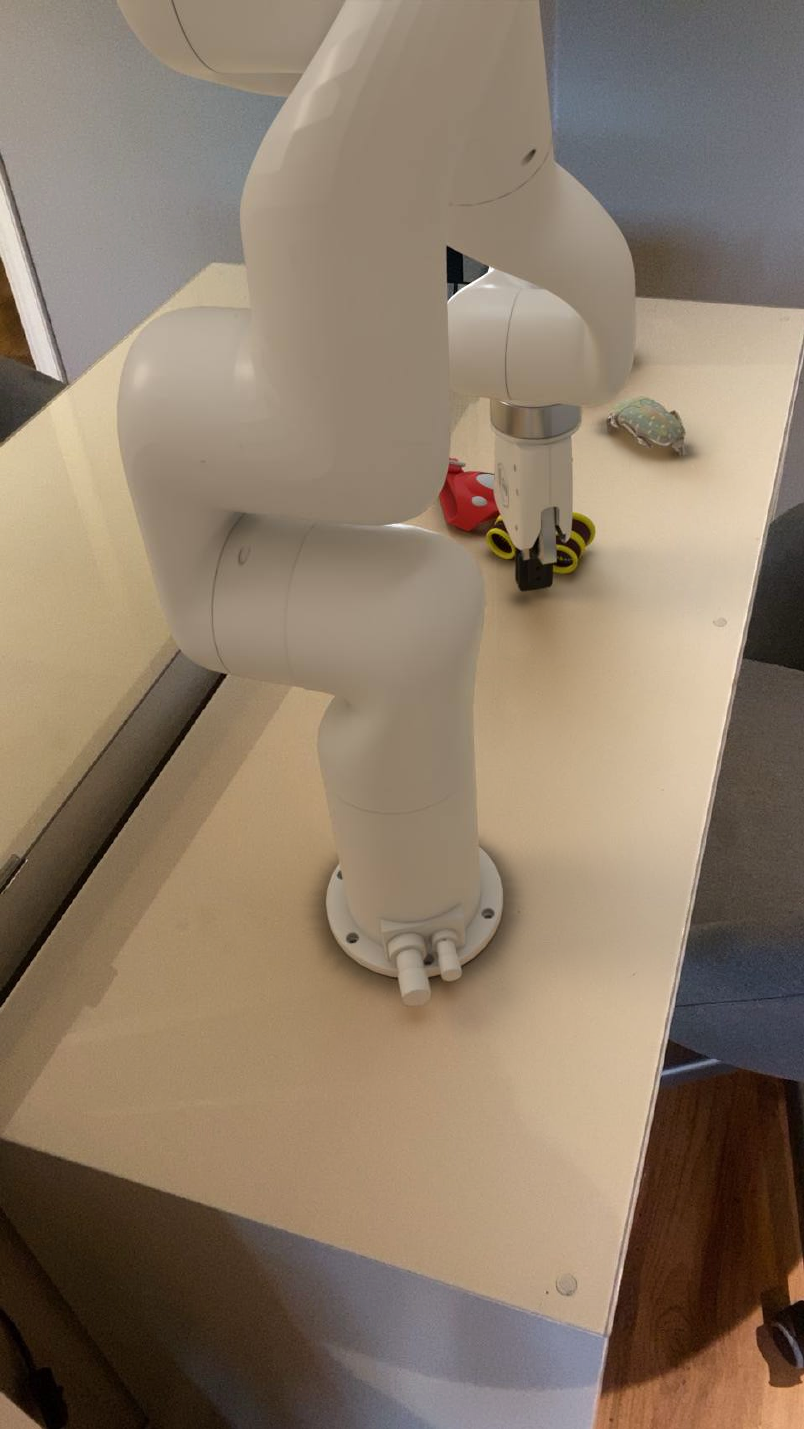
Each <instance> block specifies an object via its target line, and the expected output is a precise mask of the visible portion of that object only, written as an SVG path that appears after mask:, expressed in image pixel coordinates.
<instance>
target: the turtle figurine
mask: <svg viewBox="0 0 804 1429" xmlns="http://www.w3.org/2000/svg"><path fill="white" fill-rule="evenodd" d="M622 426H623V427H624V428H626V429H627V431H628V432H629V433H631V434H632V436H633V438H636V440H637V442H638V444H639V445H643V446H644V447H646V448H647V449H651V450H653V445H652V443H654V444H656V445H659V446H662V447H663V446H664V447H668V446H670V445H671V448H673V449H674V450H675V451H676V452H678V455H679V456H686V455H687V453H686V448H685V436H686V435H687V432H686V429H685V427H684V425H683V421H682V418H681V416H680V414H679V412H678V411H677V410H675V409H673V410H671V411H669V410H667V409H666V407H665V406H664V405H662V404H661V403H660V402H657V401H656V400H655V399H653V398H652V399H650V398H649V397H647V396H639V397H634V398H629V399H626V400H623V401H620V402H618V403H617V404H615V406H614V407H613V408H612V409H611V411H610V413H609V416H608V417H607V418H606V431H609V430H610V428H611V427H614V428H616V429H617V430H618V429H619V430H621V431H622V430H623V429H622ZM649 440H650V441H651V443H650V442H649Z"/></svg>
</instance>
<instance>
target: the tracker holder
mask: <svg viewBox="0 0 804 1429" xmlns="http://www.w3.org/2000/svg"><path fill="white" fill-rule="evenodd" d="M466 465H467V464H466V462H462V461H459V460H458V459H457V458H456V457H450V458H449V466H448V472H447V475H446V479H445V483H444V486H443V488H442V490H441V492H440V494H439V499H440V502H441V506H442V510H443V513H444V516H445V520H446V523H448V525H451V526H454V527H457V528H459V529H460V530H463V531H466V532H470V531H472V530H474V529H475V528H476V527H477V526H479V525H480V524H483V523H486V522H488V521H492V520H494V519H497V518H498V517H499V516H500V512H499V510H498V507H497V504H496V501H495V497H494V473H491V472H486V471H478V470H475V471H474V470H469V471H464V470H463V468H466Z"/></svg>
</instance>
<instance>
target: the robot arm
mask: <svg viewBox="0 0 804 1429" xmlns="http://www.w3.org/2000/svg"><path fill="white" fill-rule="evenodd" d="M115 1H116V3H117V6H118V8H119V10H120V11H121V13H122V16H123V18H124V19H125V21H126V23H127V24H128V26H129V28H130V29H131V31H132V32H133V34H134V35H135V37H137V39H138V40H139V42H140V43H141V44H142V45H143V47H144V48H145V49H147V51H148V52H149V53H151V54H152V56H153V57H155V58H156V60H158V61H160V62H161V63H162V64H163V65H165V66H167V67H168V68H169V69H171V70H173V71H175V72H177V73H178V74H183V75H185V76H188V77H191V78H194V79H198V80H203V81H206V82H211V83H214V84H217V85H222V86H226V87H228V88H233V89H237V90H241V91H243V92H248V93H253V94H258V95H265V96H271V97H278V98H279V97H280V98H287V99H286V100H285V102H284V103H283V105H282V107H281V108H280V109H279V111H278V113H277V114H276V116H275V118H274V119H273V121H272V123H271V124H270V126H269V128H268V130H267V132H266V133H265V135H264V137H263V139H262V141H261V143H260V145H259V147H258V149H257V152H256V154H255V156H254V158H253V161H252V162H251V166H250V168H249V171H248V174H247V176H246V180H245V183H244V186H243V190H242V193H241V198H240V204H239V206H240V208H239V225H240V226H239V227H240V235H241V242H242V249H243V257H244V266H245V274H246V280H247V282H246V283H247V289H248V290H247V291H248V297H249V305H250V306H249V307H250V308H248V307H234V306H233V307H232V306H231V307H230V306H216V305H215V306H213V305H212V306H209V305H199V306H198V305H197V306H187V307H179V308H175V309H172V310H169V311H167V312H164V313H162V314H160V315H159V316H157V317H155V318H154V319H152V320H151V321H150V322H148V323H147V324H146V325H145V326H144V327H143V328H142V329H141V330H140V332H139V333H137V336H136V337H135V339H134V340H133V342H132V343H131V345H130V346H129V350H128V352H127V354H126V357H125V359H124V362H123V365H122V370H121V374H120V377H119V383H118V393H117V403H116V428H117V429H116V430H117V438H118V447H119V453H120V458H121V463H122V467H123V472H124V476H125V480H126V483H127V487H128V488H127V489H128V491H129V495H130V498H131V502H132V505H133V509H134V513H135V516H136V520H137V524H138V528H139V531H140V535H141V538H142V542H143V546H144V550H145V553H146V557H147V560H148V564H149V567H150V571H151V575H152V578H153V579H152V580H153V582H154V586H155V590H156V593H157V597H158V600H159V603H160V607H161V610H162V613H163V617H164V620H165V623H166V625H167V628H168V630H169V633H170V635H171V637H172V639H173V641H174V642H175V644H176V646H177V648H179V651H180V652H181V653H182V654H183V655H184V656H185V657H186V658H188V660H190V661H192V662H193V663H194V664H196V665H197V666H200V667H202V668H204V669H205V670H209V671H212V672H216V673H221V674H225V675H229V676H235V677H239V678H244V679H249V680H250V679H251V680H254V681H255V680H256V681H262V682H267V683H273V684H278V685H284V686H289V687H296V688H301V689H304V690H306V691H307V690H308V691H313V692H318V693H322V694H323V693H324V694H328V695H331V696H333V698H332V699H331V701H330V702H329V703H328V706H326V709H325V710H324V712H323V715H322V716H321V719H320V723H319V727H318V731H317V738H316V739H317V740H316V748H317V749H316V750H317V758H318V765H319V769H320V773H321V777H322V783H323V787H324V793H325V797H326V803H327V807H328V812H329V818H330V822H331V828H332V832H333V837H334V844H335V848H336V852H337V858H338V864H337V866H336V867H335V869H334V871H333V873H332V874H331V876H330V880H329V884H328V885H327V886H328V887H327V889H326V898H325V906H326V914H327V915H326V916H327V919H328V924H329V927H330V931H331V932H332V935H333V936H334V938H335V941H336V942H337V944H338V945H339V946H340V947H341V949H342V950H343V951H344V952H345V953H346V955H347V956H348V957H350V958H351V959H353V960H354V961H355V962H356V963H358V964H359V965H360V966H362V967H364V968H366V969H368V970H370V971H372V972H374V973H376V974H380V975H383V976H387V977H393V978H397V980H398V985H399V992H400V996H401V1001H402V1004H403V1005H405V1006H407V1007H412V1008H413V1007H419V1006H422V1005H425V1004H427V1003H428V1002H429V1001H431V999H432V995H433V994H432V991H431V986H430V981H429V978H430V977H431V978H432V977H434V976H439V975H440V977H441V979H442V981H446V982H453V981H455V980H458V979H460V978H461V977H462V976H463V970H462V966H464V965H465V964H467V963H468V962H470V961H471V960H473V959H474V958H475V957H476V956H477V955H478V954H480V952H481V951H483V950H484V949H485V948H486V947H487V945H488V944H489V943H490V942H491V940H492V938H493V937H494V936H495V934H496V931H497V930H498V927H499V925H500V922H501V919H502V915H503V909H504V890H503V884H502V878H501V875H500V874H499V871H498V868H497V866H496V863H494V862H493V860H492V859H491V857H490V855H489V854H488V852H486V851H485V850H484V849H483V848H482V847H480V841H479V821H478V820H479V817H478V796H477V776H476V775H477V773H476V754H475V731H474V728H475V727H474V726H475V725H474V700H475V699H474V698H475V684H476V675H477V674H476V673H477V668H478V660H479V655H480V649H481V642H482V636H483V631H484V624H485V616H486V605H487V600H486V582H485V577H484V574H483V570H482V569H481V567H480V565H479V562H478V561H477V559H476V557H475V556H474V555H473V554H472V553H471V551H469V550H468V549H467V548H466V547H465V546H464V545H463V544H461V543H460V542H458V541H457V540H455V539H453V538H452V537H449V536H447V535H445V534H443V533H440V532H437V531H435V530H431V529H428V528H424V527H421V526H417V525H413V524H406V523H404V522H407V521H410V520H412V519H414V518H415V519H416V518H418V517H420V516H421V515H423V514H424V513H425V512H426V511H428V509H429V508H430V507H432V506H433V505H434V503H435V502H436V501H437V499H438V498H439V497H440V495H439V494H440V492H441V490H442V488H443V486H444V483H445V479H446V475H447V472H448V466H449V458H451V457H450V456H451V445H452V438H451V436H452V414H451V412H452V411H451V409H452V408H451V393H453V394H457V395H460V396H463V397H471V398H482V399H483V398H484V399H489V418H490V419H489V421H490V422H489V423H490V424H489V425H490V429H491V430H492V432H493V433H494V451H493V452H494V455H493V456H494V458H493V474H494V497H495V501H496V504H497V507H498V510H499V512H500V515H501V517H502V519H503V522H504V524H505V527H506V529H507V531H508V533H509V536H510V538H511V540H512V542H513V544H514V545H515V546H516V548H515V556H514V579H515V582H516V584H517V588H518V590H519V592H528V591H534V590H540V589H547V588H551V587H552V586H553V584H554V572H553V563H555V562H557V551H556V531H557V533H558V535H559V537H560V539H561V541H562V542H563V543H566V542H567V541H568V539H569V538H570V535H571V528H572V512H574V511H573V507H574V506H573V505H574V504H573V503H574V482H573V481H574V480H573V479H574V474H573V473H574V472H573V469H574V468H573V462H574V460H573V459H574V458H573V446H572V443H573V442H572V436H573V435H574V434H576V433H577V432H578V431H579V429H580V428H581V425H582V416H583V407H594V406H600V405H604V404H606V403H607V404H608V403H609V402H611V401H612V400H614V399H615V398H616V397H617V396H618V395H619V394H620V393H621V392H622V391H623V389H624V388H625V386H626V384H627V382H628V380H629V377H630V375H631V373H632V369H633V365H634V359H635V353H636V352H635V351H636V342H637V307H636V306H637V304H636V275H635V267H634V266H635V265H634V261H633V257H632V253H631V250H630V248H629V245H628V242H627V240H626V238H625V236H624V234H623V233H622V231H621V229H620V227H619V226H618V225H617V224H616V222H615V221H614V219H613V218H612V217H611V215H610V214H609V213H608V212H607V210H606V209H605V208H604V206H602V204H601V203H600V201H598V200H597V199H596V197H595V195H593V194H592V193H591V192H590V191H589V190H588V189H587V188H586V187H585V186H584V185H583V184H582V183H580V182H579V181H578V179H576V177H574V176H573V174H571V173H570V172H569V171H567V170H566V169H565V168H564V167H562V166H561V165H560V164H559V163H557V161H555V152H554V151H555V150H554V140H553V139H554V138H553V128H552V120H551V109H550V108H551V107H550V100H549V89H548V79H547V78H548V76H547V69H546V68H547V67H546V57H545V47H544V38H543V28H542V19H541V8H540V0H115ZM447 247H448V248H451V249H453V250H454V251H456V252H458V253H460V254H462V255H464V256H466V257H469V258H471V259H473V260H475V261H476V262H479V263H480V264H483V265H485V266H487V267H489V268H488V271H487V272H486V273H485V274H483V275H482V276H481V277H479V278H477V279H476V280H474V281H472V282H470V283H469V284H467V285H466V286H464V287H462V288H460V289H459V290H458V291H456V292H455V294H452V296H451V297H450V298H449V300H448V279H447V278H448V273H447Z"/></svg>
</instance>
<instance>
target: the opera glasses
mask: <svg viewBox="0 0 804 1429" xmlns="http://www.w3.org/2000/svg"><path fill="white" fill-rule="evenodd" d="M596 533H597V532H596V526H595V524H594V521H593V520H591V518H589V517H588V516H586V515H584V514H582V513H580V512H576V511H573V512H572V528H571V535H570V538H569V539H568V541H567V542H566V543H563V542H562V541H561V539H560V537H559V535H558V533H557V531H556V551H557V562H555V563H553V573H556V574H561V575H562V574H570V573H571V572H573V571H575V569H576V568H577V567H578V562H579V561H580V559H581V557H582V556H583V554H584V553H585V551H586V548H587V547H588V546H590V545H591V544H592V542H593V541H594V539H595V537H596ZM485 540H486V541H485V542H486V544H487V546H488V548H490V550H491V551H492V552H493V553H494V554H495V555H497V556H498V557H500V558H502V559H504V560H505V559H506V560H510V559H511V560H512V559H513V558H514V557H515V548H516V546H515V545H514V544H513V542H512V540H511V538H510V536H509V533H508V531H507V529H506V527H505V524H504V522H503V519H502V517H501V515H500V516H499V517H498V518H496V520H495V522H494V525H493V526H492V528H491V529H490V530H488V532H487V533H486V535H485Z"/></svg>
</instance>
